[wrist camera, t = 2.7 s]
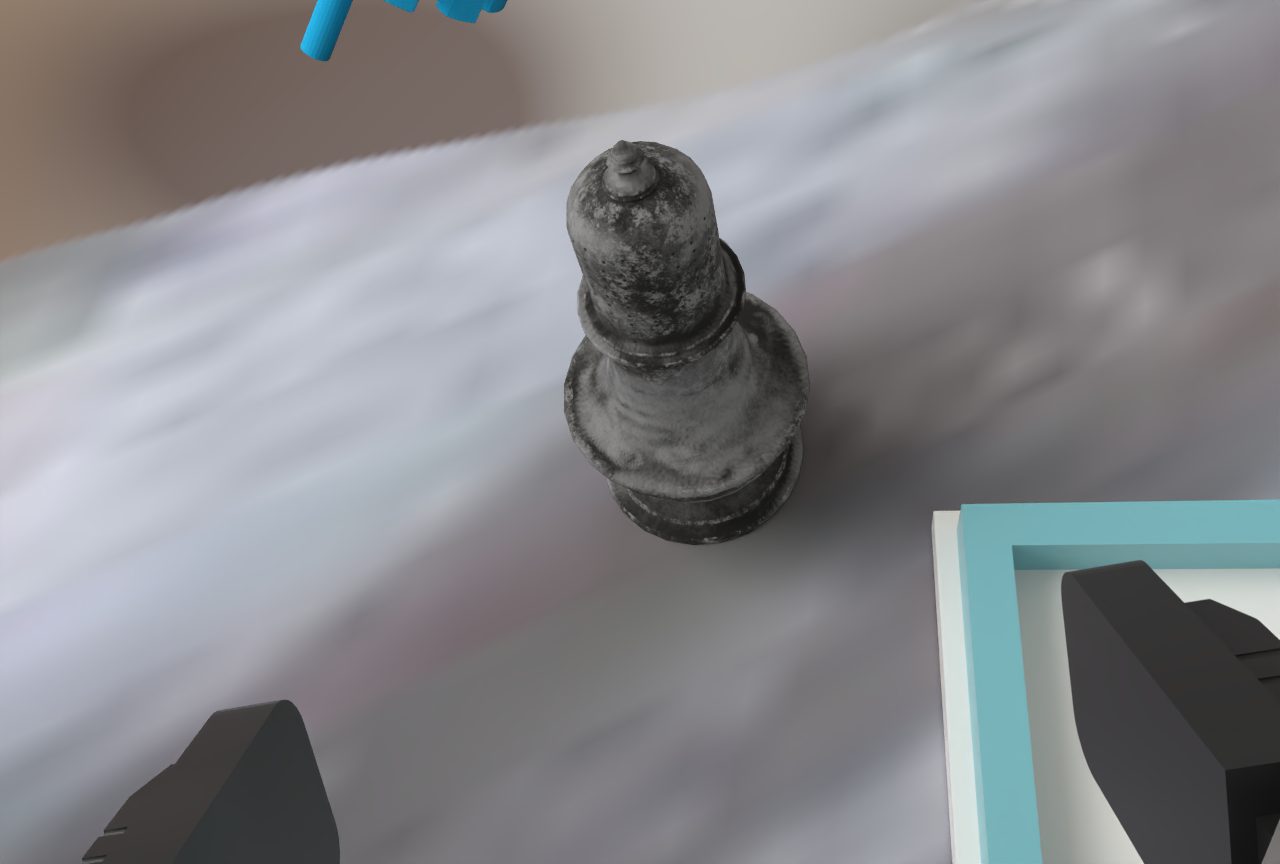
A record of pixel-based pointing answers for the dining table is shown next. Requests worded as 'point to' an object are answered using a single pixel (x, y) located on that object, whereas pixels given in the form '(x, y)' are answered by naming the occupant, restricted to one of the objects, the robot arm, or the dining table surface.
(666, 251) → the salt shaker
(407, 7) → the gear
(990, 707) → the socket board
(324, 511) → the dining table surface
